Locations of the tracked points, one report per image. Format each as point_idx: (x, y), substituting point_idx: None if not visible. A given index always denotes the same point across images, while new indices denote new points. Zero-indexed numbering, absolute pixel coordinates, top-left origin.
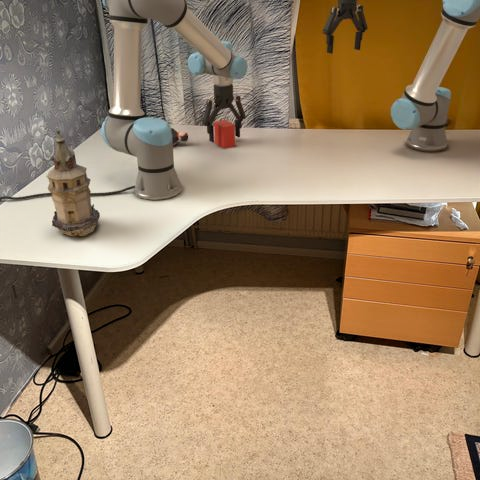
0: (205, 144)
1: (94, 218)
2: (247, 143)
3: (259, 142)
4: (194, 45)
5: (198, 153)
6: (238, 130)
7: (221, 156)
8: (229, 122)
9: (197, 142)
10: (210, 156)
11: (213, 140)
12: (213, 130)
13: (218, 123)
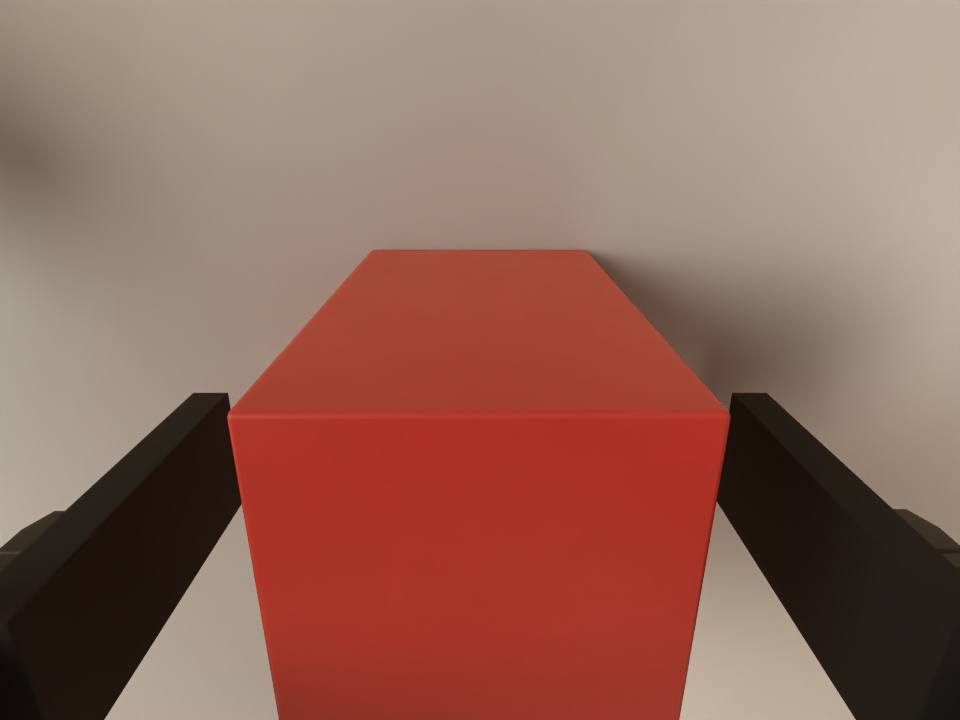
0: (194, 244)
1: None
2: None
3: None
4: None
5: (4, 525)
6: (776, 586)
7: (257, 713)
8: (660, 704)
9: (79, 61)
10: None
11: (222, 516)
12: (130, 670)
13: (301, 641)
